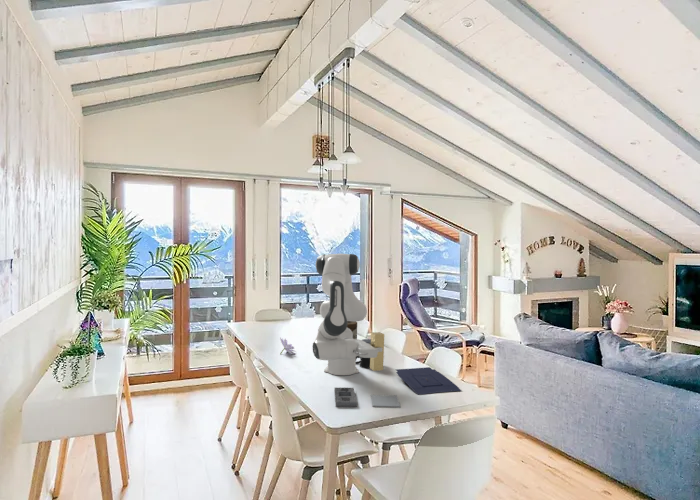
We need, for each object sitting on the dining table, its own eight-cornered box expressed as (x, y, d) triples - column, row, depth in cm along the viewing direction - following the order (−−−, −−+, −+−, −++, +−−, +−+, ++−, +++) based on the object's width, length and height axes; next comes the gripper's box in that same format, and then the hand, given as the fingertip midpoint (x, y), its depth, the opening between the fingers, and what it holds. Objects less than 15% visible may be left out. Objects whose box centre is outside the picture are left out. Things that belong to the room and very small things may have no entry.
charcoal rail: (334, 391, 218) (334, 387, 218) (353, 391, 219) (353, 387, 219) (335, 406, 198) (335, 402, 198) (356, 407, 199) (356, 402, 199)
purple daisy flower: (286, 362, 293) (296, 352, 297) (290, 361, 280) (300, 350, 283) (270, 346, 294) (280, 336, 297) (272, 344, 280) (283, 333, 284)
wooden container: (356, 352, 298) (357, 318, 298) (333, 351, 298) (334, 317, 298) (356, 347, 313) (357, 314, 312) (334, 346, 313) (335, 314, 313)
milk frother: (374, 369, 259) (374, 342, 259) (346, 366, 263) (347, 340, 262) (378, 362, 273) (378, 337, 273) (351, 360, 277) (352, 336, 276)
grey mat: (370, 396, 214) (370, 394, 214) (396, 396, 214) (396, 395, 214) (372, 406, 200) (372, 405, 200) (400, 407, 200) (400, 406, 200)
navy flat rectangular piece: (432, 371, 253) (432, 365, 253) (461, 396, 225) (462, 388, 224) (391, 374, 245) (392, 368, 245) (416, 400, 217) (417, 392, 217)
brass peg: (369, 368, 208) (371, 332, 207) (379, 367, 209) (380, 332, 209) (373, 370, 203) (374, 334, 203) (383, 370, 205) (384, 334, 205)
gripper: (358, 347, 192) (388, 345, 196) (342, 337, 211) (371, 336, 216) (357, 362, 192) (388, 360, 197) (342, 350, 211) (370, 349, 216)
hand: (379, 347), depth 206 cm, fingers closed on brass peg, 4 cm apart
